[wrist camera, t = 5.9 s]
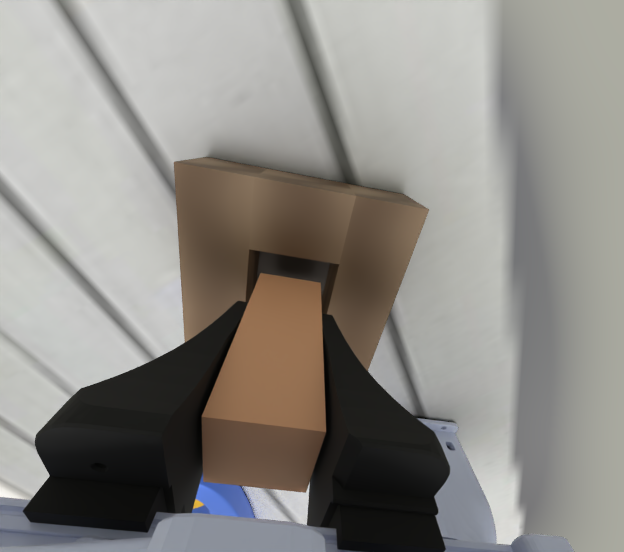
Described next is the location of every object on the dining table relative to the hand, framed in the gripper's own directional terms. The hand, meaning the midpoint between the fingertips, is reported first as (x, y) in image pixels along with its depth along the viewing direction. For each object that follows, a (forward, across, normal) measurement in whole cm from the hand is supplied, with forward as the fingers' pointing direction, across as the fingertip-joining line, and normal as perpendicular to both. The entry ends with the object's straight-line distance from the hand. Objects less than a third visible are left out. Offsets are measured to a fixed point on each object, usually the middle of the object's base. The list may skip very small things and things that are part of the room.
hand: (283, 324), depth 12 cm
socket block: (+7, 0, 0) cm, 7 cm away
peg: (+2, 0, 0) cm, 2 cm away
